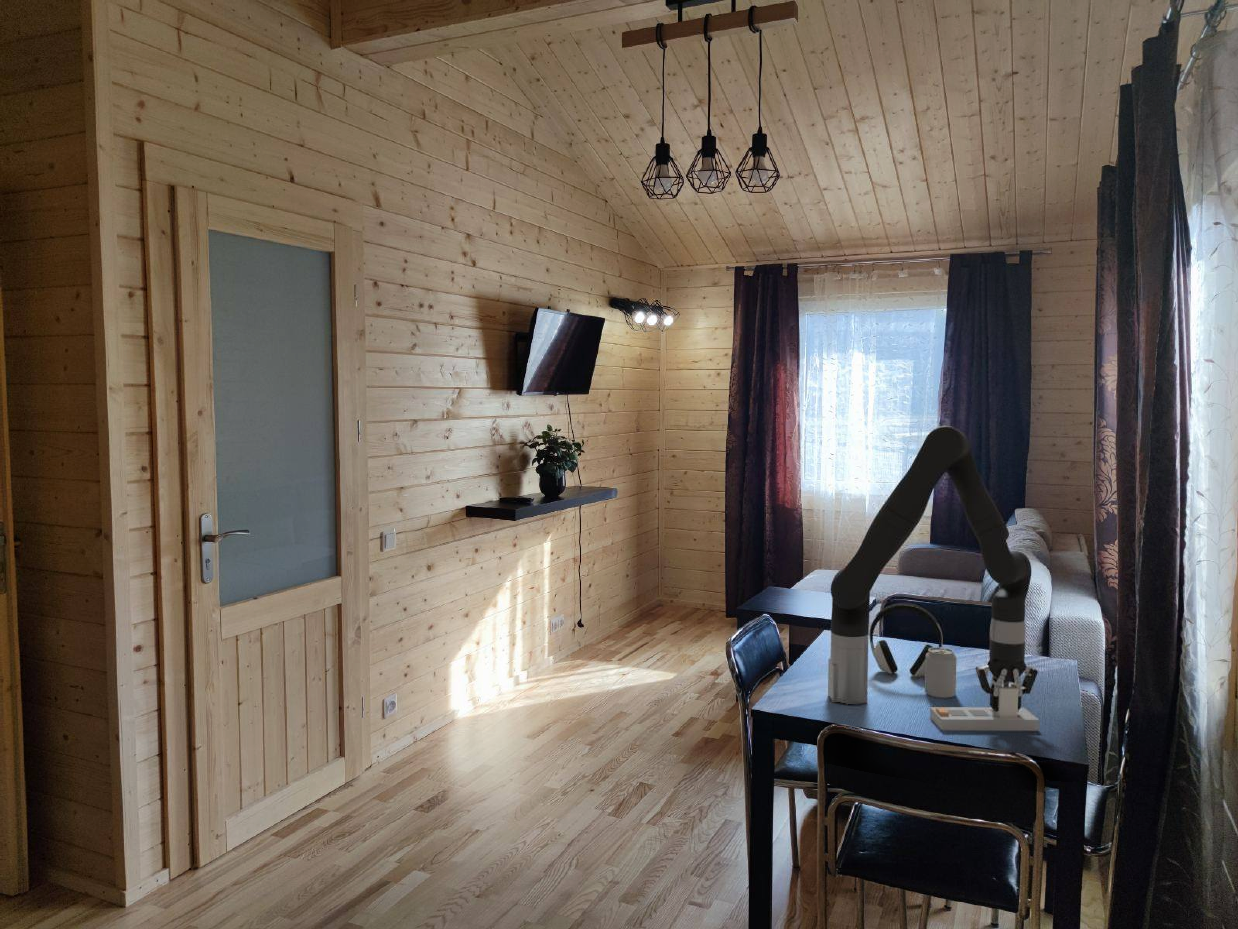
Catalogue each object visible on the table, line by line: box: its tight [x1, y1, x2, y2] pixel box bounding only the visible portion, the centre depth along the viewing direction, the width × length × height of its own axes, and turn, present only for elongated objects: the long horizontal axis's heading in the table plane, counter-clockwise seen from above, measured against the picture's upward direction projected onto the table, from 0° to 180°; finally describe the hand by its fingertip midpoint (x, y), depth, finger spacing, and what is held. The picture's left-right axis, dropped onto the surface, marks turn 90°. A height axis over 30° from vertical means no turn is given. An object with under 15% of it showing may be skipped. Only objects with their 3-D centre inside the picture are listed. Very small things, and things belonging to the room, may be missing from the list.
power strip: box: [929, 706, 1040, 732], centre depth 209 cm, size 22×8×4 cm, turn 89°
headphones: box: [868, 602, 944, 678], centre depth 246 cm, size 19×8×20 cm, turn 68°
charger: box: [993, 682, 1018, 718], centre depth 208 cm, size 4×4×11 cm
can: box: [924, 646, 958, 699], centre depth 229 cm, size 8×8×12 cm
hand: (1005, 710), depth 208 cm, fingers closed on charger, 4 cm apart
